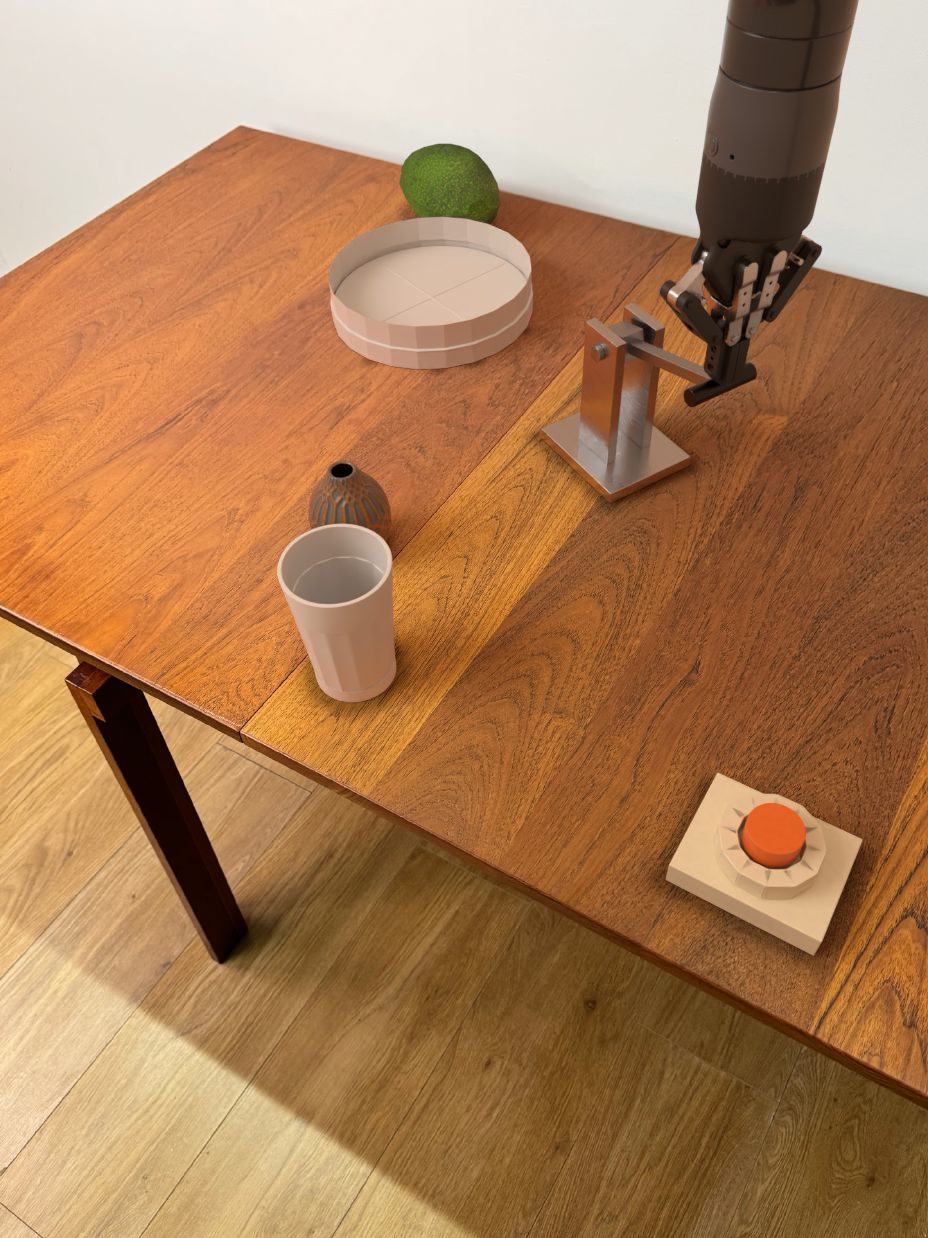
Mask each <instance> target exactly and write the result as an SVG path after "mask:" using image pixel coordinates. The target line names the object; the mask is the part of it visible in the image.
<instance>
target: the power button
mask: <svg viewBox="0 0 928 1238" xmlns="http://www.w3.org/2000/svg"><path fill="white" fill-rule="evenodd" d="M805 838H806V829H805V826H804V823H803V821H802V819H801V818H800V817H799V815H798V814H797V813H796V812H794V811H793V810H792V809H790V808H788V807H787V806H784V805H781V804H777V803H765V804H761V805H759V806H757V807H755V808H754V809H753V810H752V811H751V812H750V813H749V815H748V817H747V820H746V823H745V826H744V829H743V832H742V842H743V846H744V848H745V850H746V852H747V853H748V854H749V855H750V857H752V858H753V859H754V860H755V861H757V862H758V863H760V864H762V865H765V866H768V867H783V866H786V865H788V864H790V863H792V862H793V861H794V860H795V859H796V858H797V856H798V854H799V852H800V850H801V848H802V846H803V844H804V841H805Z"/></svg>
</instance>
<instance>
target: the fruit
mask: <svg viewBox="0 0 928 1238" xmlns="http://www.w3.org/2000/svg"><path fill="white" fill-rule="evenodd" d="M399 186H400V189H401V191H402V193H403V196H404V198H405V200H406V202H407V204H408V205H409V207H410V208H411V209H412V211H413V212H414V214H415V215H416V217H417V218H429V217H450V218H462V219H469V220H473V221H477V222H482V223H486V224H489V225H492V224H493V222H494V221H495V220H496V219H497V217H498V214H499V210H500V206H501V195H500V194H501V193H500V189H499V184H498V182H497V180H496V177H495V176H494V174H493V171H492V170H491V169H490V167H489V166H488V164H487V163H486V162H485V160H483V159H482V157H481V156H480V155H479V154H478V153H476V152H474V151H473V150H472V149H471V148H467V147H465V146H462V145H459V144H454V143H435V144H431V145H426V146H423V147H420V148H418V149H416V150H414V151H412V152H411V153H410V154H409V155H408V156H407V157H406V159H405V160H404V162H403V163H402V165H401V170H400V177H399Z"/></svg>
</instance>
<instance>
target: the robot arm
mask: <svg viewBox="0 0 928 1238" xmlns="http://www.w3.org/2000/svg"><path fill="white" fill-rule="evenodd" d="M859 1H860V0H728V3H727V8H726V18H725V24H724V32H723V39H722V44H721V45H722V46H721V51H720V52H721V53H720V60H719V65H718V70H717V75H716V78H715V83H714V86H713V90H712V93H711V97H710V100H709V106H708V111H707V112H708V113H707V120H706V126H705V133H704V135H705V136H704V143H703V149H702V156H701V162H700V163H701V164H700V169H699V170H700V171H699V177H698V185H697V191H696V199H695V206H694V207H695V215H696V218H697V222H698V227H699V236H698V239H697V242H696V244H695V246H694V248H693V249H692V252H691V255H690V264H691V267H690V268H689V269H688V270H687V271H686V273H685V274H684V275H683V276H682V277H681V278H680V280H679V281H678V282H675V281H674V280H673V279H667V280H666V281H665V282H664V283H662V285H661V287H660V289H659V295H660V296H661V298H662V299H663V300H664V302H665V303H666V304H667V305H668V307H669V308H670V309H671V310H672V311H673V313H674V314H675V316H676V317H677V318H678V319H679V320H680V322H681V323H682V324H683V326H684V327H685V329H687V331H689V332H691V333H692V334H693V335H695V336H696V337H697V338H698V339H699V340H701V341H703V342H704V343H706V350H705V356H704V362H703V367H704V371H705V372H706V373H707V374H708V376H709V377H710V378H712V379H713V380H714V381H716V382H717V383H718V384H720V385H721V386H724V385H726V384H729V383H731V382H733V381H735V380H737V379H739V378H740V376H741V372H742V370H743V368H744V366H745V364H746V363H747V358H748V354H749V353H748V352H749V349H750V344H751V339H752V338H753V337H754V336H755V335H757V333H758V331H759V329H760V325H761V324H762V323H763V322H767V323H769V324H770V323H772V322H774V321H775V320H776V319H777V318H778V317H779V316H780V314H781V312H782V311H783V309H784V308H785V306H786V305H787V304H788V302H789V301H790V299H792V296H793V295H794V294H795V292H796V291H797V289H798V288H799V286H800V285H801V284H802V282H803V281H804V279H805V278H806V276H807V275H808V274H809V272H810V271H811V269H812V268H813V267H814V265H815V264H816V262H817V261H818V259H819V257H820V256H821V254H822V251H823V246H822V245H821V244H818V243H817V242H815V241H814V240H813V239H811V238H809V237H808V236H806V235H805V234H803V232H804V231H805V230H806V229H807V228H808V227H809V225H810V224H811V223H812V220H813V218H814V215H815V211H816V207H817V202H818V197H819V194H820V190H821V189H820V188H821V184H822V180H823V176H824V172H825V168H826V163H827V160H828V155H829V151H830V146H831V141H832V139H833V134H834V129H835V125H836V120H837V115H838V111H839V105H840V104H839V102H840V91H841V83H842V77H843V71H844V67H845V64H846V59H847V54H848V50H849V46H850V42H851V37H852V34H853V33H852V32H853V28H854V24H855V20H856V14H857V10H858V6H859ZM777 285H779V286H778V289H777V291H776V287H777ZM705 305H706V308H705V307H704V306H705Z"/></svg>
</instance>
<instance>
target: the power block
mask: <svg viewBox="0 0 928 1238" xmlns="http://www.w3.org/2000/svg"><path fill="white" fill-rule="evenodd" d="M765 803H777V804H781V805H784V806H787V807H788V808H790V809H792V810H793V811H794V812H796V813H797V814H798V815H799V817H800V818H801V819H802V821H803V823H804V826H805V829H806V838H805V841H804V844H803V846H802V848H801V850H800V852H799V854H798V856H797V858H796V859H795V860H794V861H793V862H792V863H790V864H788V865H786V866H783V867H768V866H765V865H762V864H760V863H758V862H757V861H755V860H754V859H753V858H752V857H750V855H749V854H748V853H747V852H746V850H745V848H744V846H743V842H742V832H743V829H744V826H745V823H746V820H747V817H748V815H749V813H750V812H751V811H752V810H753V809H754V808H755V807H757V806H759V805H761V804H765ZM862 843H863V838H860V837H859V836H857V835H854V834H852V833H850V832H849V831H845V830H843V829H841V828H839V827H837V826H835V825H833V824H830V823H828V822H826V821H824V820H823V819H820V818H817V817H815V816H813V815H812V814H811V813H810V812H809V811H808V810H807V808H805V806H804V805H802V804H800V803H798V802H795V801H793V800H791V799H789V798H787V797H784V796H783V795H781V794H777V793H763V792H761V791H760V790H759V791H758V789H754V788H752V787H750V786H748V785H746V784H743V783H741V782H739V781H737V780H735V779H733V778H731V777H728V776H727V775H724V774H722V773H720V772H717V773H715V776H714V778H713V780H712V782H711V784H710V786H709V787H708V790H707V791H706V794H705V795H704V797H703V799H702V801H701V803H700V805H699V807H698V809H697V811H696V813H695V814H694V817H693V818H692V820H691V822H690V824H689V825H688V828H687V830H686V831H685V833H684V835H683V838H682V839H681V841H680V843H679V845H678V846H677V848H676V851H675V853H674V854H673V856H672V858H671V860H670V862H669V864H668V868H667V872H666V876H665V880H666V881H667V882H669V883H671V884H673V885H675V886H676V887H678V888H680V889H682V890H684V891H687V892H688V893H690V894H692V895H694V896H696V897H698V898H700V899H702V900H704V901H706V902H707V903H710V904H712V905H714V907H715V906H716V907H718V908H719V909H722V910H723V911H725V912H727V913H729V914H731V915H733V916H735V917H737V918H739V919H740V920H743V921H745V922H747V923H749V924H751V925H753V926H755V927H756V928H759V929H760V930H762V931H764V932H766V933H768V934H770V935H772V936H774V937H776V938H778V939H780V940H782V941H784V942H786V943H787V944H789V945H791V946H794V947H795V948H797V949H799V950H801V951H803V952H805V953H807V954H809V955H812V956H815V955H816V953H817V952H818V950H819V948H820V947H821V945H822V943H823V940H824V938H825V936H826V933H827V931H828V928H829V926H830V923H831V921H832V918H833V915H834V914H835V910H836V908H837V906H838V904H839V901H840V899H841V896H842V893H843V891H844V888H845V885H846V883H847V881H848V878H849V876H850V873H851V871H852V869H853V865H854V863H855V861H856V858H857V856H858V853H859V850H860V849H861V846H862Z"/></svg>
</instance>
